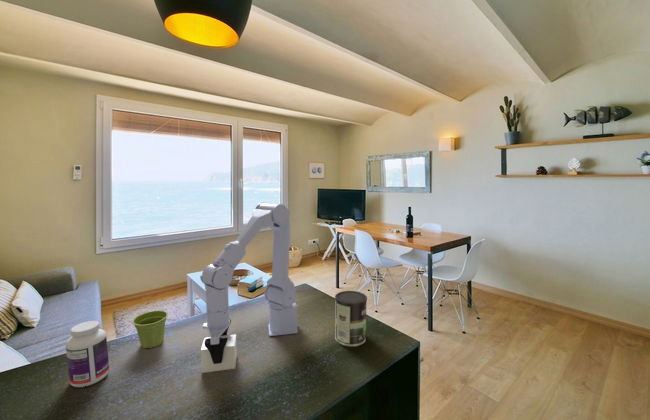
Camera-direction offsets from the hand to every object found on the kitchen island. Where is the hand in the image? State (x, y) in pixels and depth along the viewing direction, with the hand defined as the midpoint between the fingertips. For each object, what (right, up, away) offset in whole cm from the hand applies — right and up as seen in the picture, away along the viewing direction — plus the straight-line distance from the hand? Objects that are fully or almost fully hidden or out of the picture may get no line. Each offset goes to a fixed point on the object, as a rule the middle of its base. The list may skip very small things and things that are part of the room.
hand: (219, 354), depth 81 cm
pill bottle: (-31, -4, -6) cm, 32 cm away
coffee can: (+38, -2, +14) cm, 40 cm away
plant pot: (-25, -2, +10) cm, 27 cm away
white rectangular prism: (0, -3, 0) cm, 3 cm away
